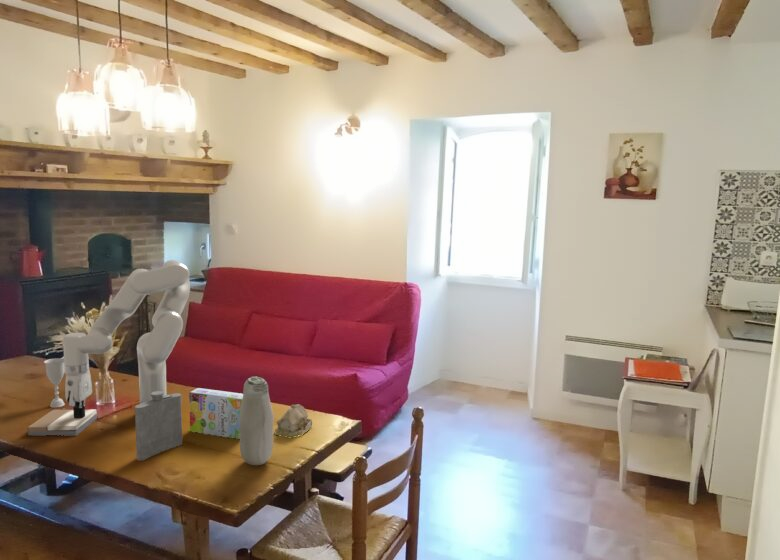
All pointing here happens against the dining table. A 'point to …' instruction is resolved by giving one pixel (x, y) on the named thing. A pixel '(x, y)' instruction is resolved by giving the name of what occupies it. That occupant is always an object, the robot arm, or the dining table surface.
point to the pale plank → (71, 421)
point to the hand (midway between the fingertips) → (79, 417)
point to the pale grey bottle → (256, 422)
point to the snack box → (215, 412)
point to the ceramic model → (293, 422)
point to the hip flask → (158, 424)
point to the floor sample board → (65, 432)
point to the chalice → (55, 378)
